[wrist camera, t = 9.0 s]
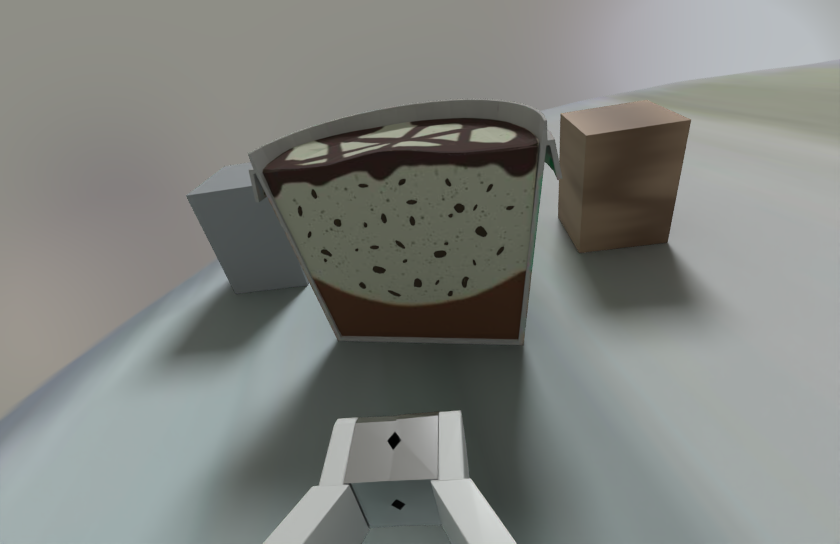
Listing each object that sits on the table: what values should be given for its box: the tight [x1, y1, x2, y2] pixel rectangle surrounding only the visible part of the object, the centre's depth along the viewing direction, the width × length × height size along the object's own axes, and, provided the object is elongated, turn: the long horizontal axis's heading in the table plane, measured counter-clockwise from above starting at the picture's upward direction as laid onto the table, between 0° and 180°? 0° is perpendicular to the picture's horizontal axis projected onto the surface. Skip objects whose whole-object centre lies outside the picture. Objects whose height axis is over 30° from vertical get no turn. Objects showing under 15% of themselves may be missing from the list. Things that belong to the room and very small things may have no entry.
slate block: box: [186, 162, 309, 294], centre depth 27 cm, size 5×5×7 cm
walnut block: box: [558, 100, 691, 253], centre depth 24 cm, size 5×5×7 cm
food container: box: [248, 99, 562, 345], centre depth 20 cm, size 12×6×10 cm, turn 78°
